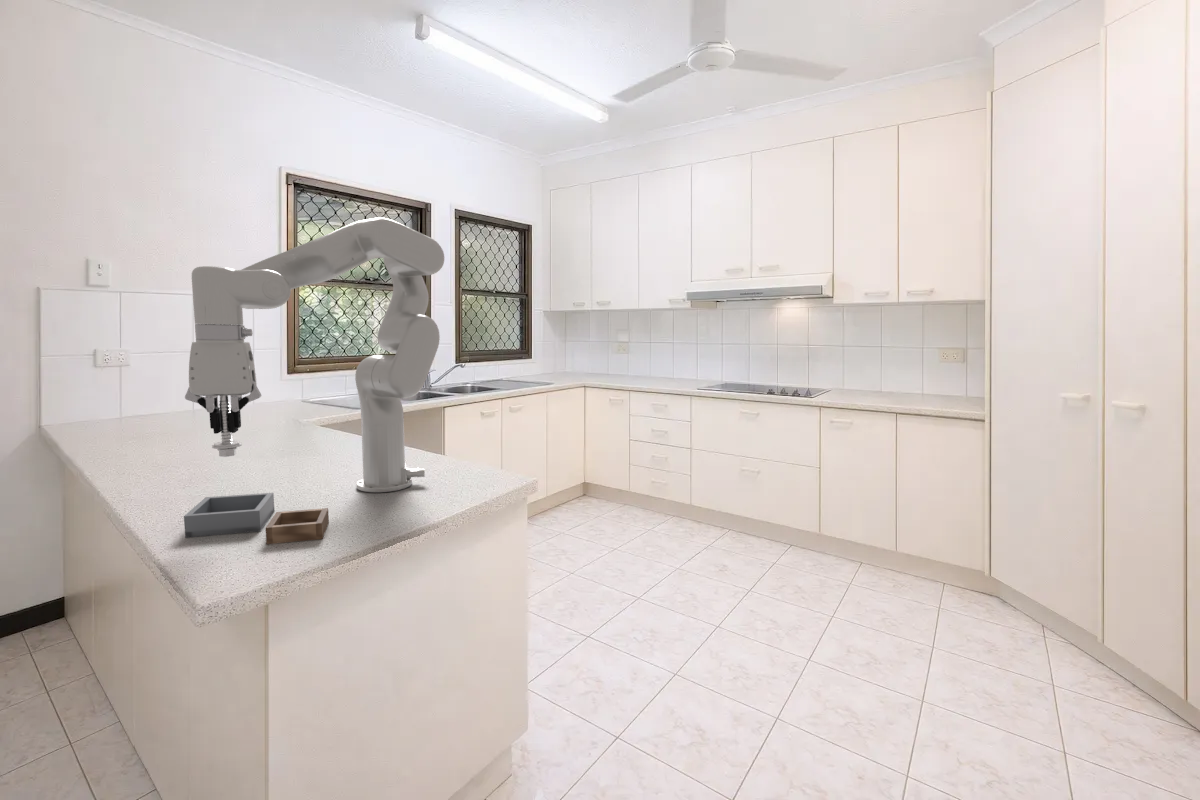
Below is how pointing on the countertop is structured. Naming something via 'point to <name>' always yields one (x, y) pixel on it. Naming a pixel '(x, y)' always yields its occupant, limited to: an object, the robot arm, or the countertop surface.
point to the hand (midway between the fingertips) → (226, 431)
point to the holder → (297, 526)
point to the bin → (229, 514)
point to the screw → (225, 431)
